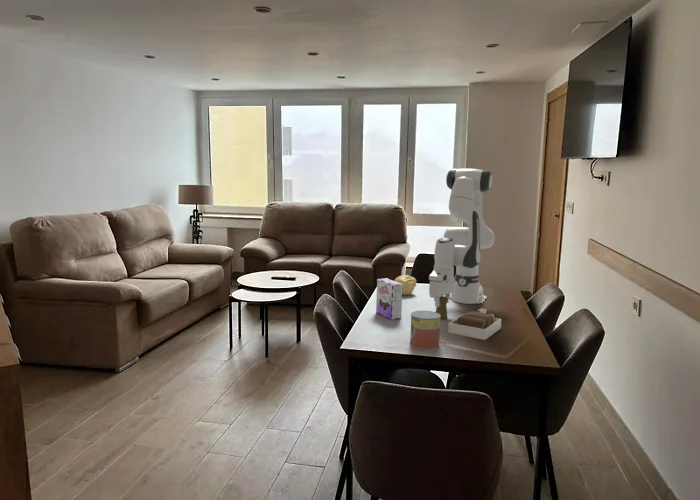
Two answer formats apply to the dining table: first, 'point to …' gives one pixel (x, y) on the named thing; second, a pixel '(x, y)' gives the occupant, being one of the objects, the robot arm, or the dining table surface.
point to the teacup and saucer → (483, 311)
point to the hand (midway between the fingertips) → (441, 304)
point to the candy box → (389, 298)
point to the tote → (474, 329)
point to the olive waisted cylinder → (442, 308)
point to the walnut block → (476, 319)
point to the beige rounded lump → (406, 283)
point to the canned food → (425, 330)
